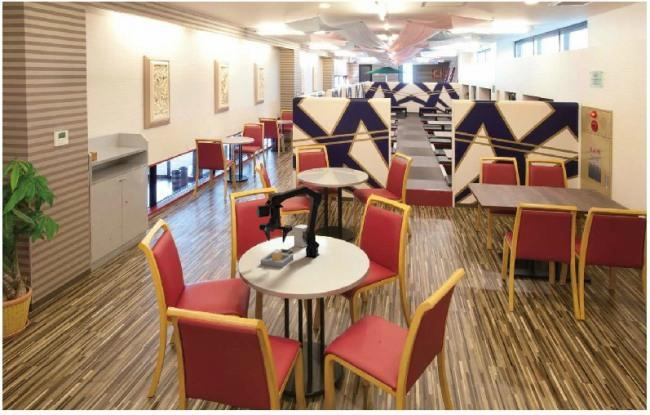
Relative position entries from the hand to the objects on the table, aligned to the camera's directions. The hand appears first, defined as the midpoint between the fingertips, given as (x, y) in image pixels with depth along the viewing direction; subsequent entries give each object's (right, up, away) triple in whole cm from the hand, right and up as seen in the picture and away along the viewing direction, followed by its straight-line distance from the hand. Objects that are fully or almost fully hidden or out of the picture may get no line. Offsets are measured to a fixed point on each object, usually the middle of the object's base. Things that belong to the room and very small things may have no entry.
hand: (276, 241), depth 299 cm
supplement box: (+14, -4, +31) cm, 34 cm away
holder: (+3, -8, +15) cm, 18 cm away
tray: (0, -12, +2) cm, 12 cm away
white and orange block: (0, -11, +2) cm, 11 cm away
